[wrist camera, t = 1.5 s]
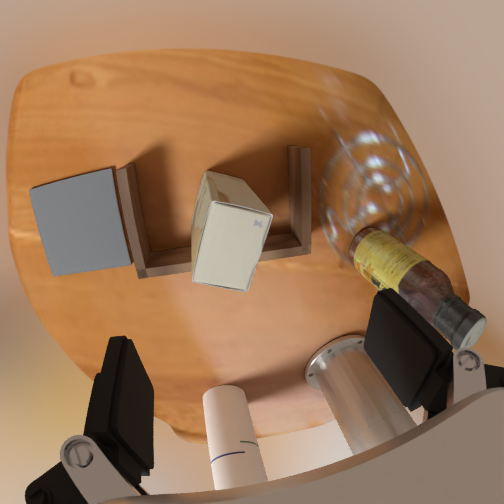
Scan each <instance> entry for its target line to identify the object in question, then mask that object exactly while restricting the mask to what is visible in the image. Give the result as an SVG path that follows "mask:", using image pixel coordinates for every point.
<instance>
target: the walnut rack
mask: <svg viewBox="0 0 504 504" xmlns="http://www.w3.org/2000/svg"><path fill="white" fill-rule="evenodd" d="M287 149H288V174H289V208H290V233H286V234H279V235H271V236H267V237H266V240H265V243H264V246H263V249H262V252H261V256H260V258H259V261H258V262H260V261H266V260H273V259H280V258H286V257H293V256H299V255H306V254H311V148H308V147H302V146H287ZM116 176H117V182H118V188H119V194H120V199H121V205H122V210H123V215H124V220H125V225H126V229H127V234H128V238H129V242H130V247H131V251H132V255H133V259H134V263H135V267H136V271H137V274H138V278H139V279H141V278H148V277H155V276H163V275H170V274H177V273H184V272H191V271H192V253H191V248H192V247H184V248H177V249H170V250H164V251H157V252H150V247H149V243H148V238H147V233H146V228H145V223H144V218H143V213H142V207H141V201H140V195H139V189H138V183H137V176H136V170H135V163H134V164H129V165H125V166H123V167H121V168H119V169H117V170H116Z"/></svg>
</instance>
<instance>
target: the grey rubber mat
mask: <svg viewBox="0 0 504 504" xmlns="http://www.w3.org/2000/svg"><path fill="white" fill-rule="evenodd" d="M29 192H30V197H31V202H32V206H33V210H34V215H35V219H36V222H37V226H38V230H39V233H40V237H41V240H42V244H43V247H44V250H45V253H46V256H47V259H48V262H49V265H50V268H51V271H52V274H53V276H60V275H66V274H73V273H80V272H87V271H94V270H100V269H107V268H114V267H121V266H128V265H131V264H132V262H131V258H130V254H129V250H128V246H127V242H126V237H125V233H124V228H123V224H122V219H121V214H120V209H119V204H118V199H117V193H116V188H115V182H114V176H113V169H112V168H109V169H105V170H100V171H96V172H92V173H88V174H83V175H79V176H76V177H72V178H68V179H64V180H60V181H57V182H53V183H50V184H46V185H43V186H40V187H37V188H33V189H30V190H29Z"/></svg>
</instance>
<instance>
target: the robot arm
mask: <svg viewBox="0 0 504 504" xmlns="http://www.w3.org/2000/svg"><path fill="white" fill-rule="evenodd" d="M452 349H453V347H452V346H451V345H450V344H449V343H448V342H447V341H446V340H445V339H444V338H443V336H442V335H441V334H440V333H439V332H438V331H437V330H436V329H435V328H434V327H433V326H432V325H431V324H430V323H429V322H427V321H426V320H425V319H424V318H423V317H422V316H421V315H420V314H419V313H418V312H417V311H416V310H415V309H414V308H413V307H412V306H411V305H410V304H409V303H408V302H407V301H406V300H405V299H404V298H402V297H401V296H400V295H399V294H398V293H397V292H396V291H395V290H394V289H392V288H387V289H384V290H380V291H378V292H377V295H375V296H374V300H373V305H372V309H371V314H370V319H369V323H368V327H367V332H366V336H365V337H364V336H361V335H347V336H343V337H340V338H338V339H335V340H333V341H331V342H329V343H328V344H326V345H325V346H323V347H322V348H321V349H320V350H318V351H317V352H316V353H315V354H314V355H313V357H312V358H311V359H310V361H309V362H308V364H307V366H306V369H305V378H306V380H307V383H308V384H309V385H310V386H311V387H312V388H314V389H317V390H322V392H323V394H324V396H325V398H326V400H327V402H328V404H329V406H330V408H331V410H332V412H333V414H334V416H335V418H336V420H337V422H338V424H339V426H340V428H341V430H342V432H343V434H344V437H345V439H346V441H347V442H348V445H349V447H350V449H351V451H352V453H353V455H354V456H352V457H349V458H346V459H344V460H341V461H338V462H335V463H333V464H330V465H327V466H324V467H321V468H317V469H314V470H311V471H308V472H304V473H301V474H297V475H293V476H289V477H286V478H281V479H277V480H273V481H269V482H264V483H259V484H254V485H248V486H242V487H236V488H229V489H222V490H213V491H205V492H195V493H181V494H159V495H150V494H149V493H148V492H147V491H146V490H145V489H144V488H143V487H142V486H141V485H140V483H141V476H149V475H150V469H153V468H154V450H153V417H154V389H153V386H152V383H151V381H150V379H149V377H148V375H147V373H146V371H145V369H144V366H143V364H142V362H141V360H140V357H139V355H138V353H137V351H136V348H135V346H134V343H133V341H132V340H131V339H127V337H126V336H115V337H110V339H109V342H108V346H107V350H106V353H105V357H104V361H103V366H102V370H101V373H97V374H96V376H95V379H94V384H93V388H92V393H91V397H90V402H89V407H88V412H87V417H86V423H85V428H84V434H83V435H76V436H73V437H70V438H68V439H67V440H66V441H65V442H64V444H63V445H62V447H61V450H60V459H61V462H59V463H58V464H57V465H55V466H54V467H52V468H51V469H50V470H49V471H47V472H46V473H44V474H43V475H42V476H40V477H39V478H38V479H36V480H35V481H33V482H32V483H31V484H30V485H29V486H28V487H27V489H26V492H25V500H26V503H27V504H504V368H503V367H498V366H492V365H487V364H484V362H483V359H482V357H481V355H480V354H479V353H478V352H476V351H475V350H473V349H471V348H465V347H463V348H459V349H458V350H456V351H455V353H453V352H452ZM421 405H422V406H423V407H424V416H423V423H422V424H420V425H418V426H417V425H416V423H415V422H414V421H413V419H412V417H411V416H410V415H409V413H408V412H407V410H406V409H405V407H408V408H409V410H410V411H413V410H415V409H417V408H419V407H420V406H421ZM404 406H405V407H404Z"/></svg>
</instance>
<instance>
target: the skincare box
mask: <svg viewBox="0 0 504 504" xmlns="http://www.w3.org/2000/svg"><path fill="white" fill-rule="evenodd" d="M272 219H273V214H272V213H271V212H270V211H269V209H268V208H267V207H266V206H265V205H264V204H263V202H262V201H261V200H260V199H259V198H258V196H257V195H256V194H255V193H254V192H253V191H252V189H251V188H250V187H249V186H248V185H247V184H246V182H245V181H244V180H243V179H239V178H236V177H232V176H229V175H225V174H221V173H217V172H212V171H205V172H204V175H203V178H202V182H201V185H200V188H199V192H198V196H197V199H196V204H195V208H194V213H193V218H192V223H191V247H192V248H191V253H192V282H195V283H200V284H205V285H210V286H214V287H219V288H225V289H230V290H236V291H241V292H246V291H248V289H249V287H250V284H251V281H252V278H253V275H254V272H255V269H256V266H257V264H258V261H259V258H260V256H261V252H262V249H263V246H264V243H265V240H266V237H267V234H268V231H269V228H270V225H271V221H272Z"/></svg>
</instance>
